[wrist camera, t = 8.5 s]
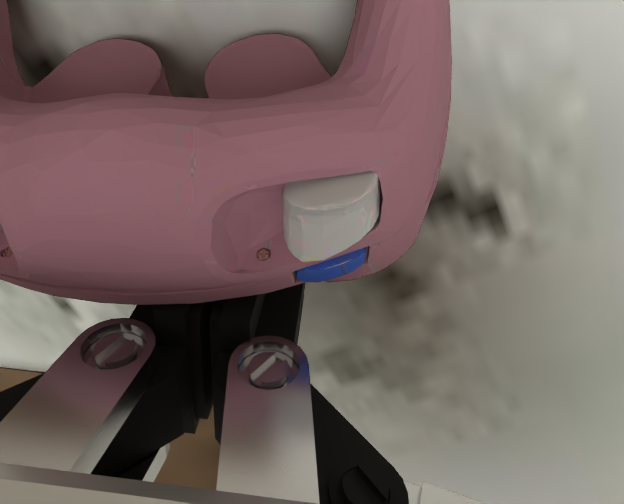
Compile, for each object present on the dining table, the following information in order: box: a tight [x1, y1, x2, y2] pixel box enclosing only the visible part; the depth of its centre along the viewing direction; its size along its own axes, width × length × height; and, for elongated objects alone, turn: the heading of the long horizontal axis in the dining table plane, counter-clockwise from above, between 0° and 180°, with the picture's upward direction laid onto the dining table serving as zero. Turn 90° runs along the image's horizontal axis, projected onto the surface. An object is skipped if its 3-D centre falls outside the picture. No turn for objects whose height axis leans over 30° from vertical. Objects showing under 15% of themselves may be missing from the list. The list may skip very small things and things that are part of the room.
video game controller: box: [0, 0, 452, 305], centre depth 8 cm, size 10×5×7 cm, turn 93°
